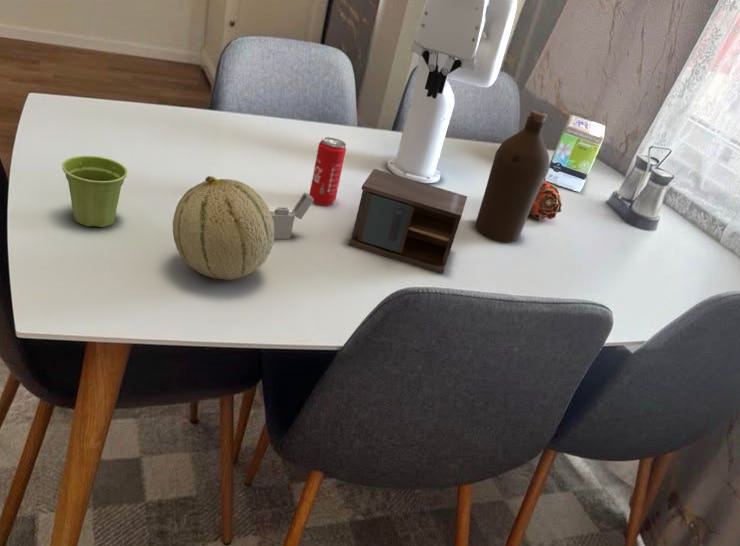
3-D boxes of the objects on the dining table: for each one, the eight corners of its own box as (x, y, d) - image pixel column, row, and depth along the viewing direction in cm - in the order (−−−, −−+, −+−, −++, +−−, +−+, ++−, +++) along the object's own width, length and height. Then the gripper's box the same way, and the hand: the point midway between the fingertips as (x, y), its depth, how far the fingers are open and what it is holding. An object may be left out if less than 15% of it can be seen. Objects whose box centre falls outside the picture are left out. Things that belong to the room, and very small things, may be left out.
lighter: (268, 238, 121) (275, 195, 117) (265, 234, 122) (272, 190, 118) (306, 238, 124) (314, 196, 120) (303, 234, 126) (311, 192, 121)
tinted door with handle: (358, 238, 126) (369, 191, 121) (402, 252, 126) (415, 205, 121) (353, 247, 123) (364, 199, 118) (398, 260, 122) (411, 213, 117)
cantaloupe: (274, 299, 106) (291, 207, 97) (173, 296, 100) (181, 198, 92) (257, 251, 117) (271, 164, 108) (165, 245, 111) (172, 154, 103)
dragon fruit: (547, 235, 156) (513, 217, 165) (576, 212, 157) (540, 196, 166) (538, 204, 150) (503, 188, 159) (568, 181, 152) (532, 166, 160)
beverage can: (331, 209, 137) (343, 149, 130) (305, 201, 137) (316, 141, 131) (337, 200, 141) (349, 142, 135) (312, 193, 142) (323, 134, 135)
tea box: (581, 193, 180) (604, 137, 172) (543, 181, 182) (565, 124, 173) (584, 177, 193) (606, 124, 184) (548, 165, 194) (569, 112, 186)
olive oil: (525, 248, 143) (572, 127, 129) (475, 237, 142) (517, 114, 128) (516, 226, 152) (559, 110, 138) (469, 216, 150) (507, 98, 137)
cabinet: (360, 225, 134) (374, 168, 128) (449, 252, 133) (467, 196, 127) (348, 245, 126) (362, 185, 120) (442, 274, 125) (461, 215, 119)
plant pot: (138, 221, 116) (140, 171, 111) (97, 239, 108) (98, 186, 103) (92, 201, 118) (92, 151, 113) (49, 217, 110) (47, 164, 106)
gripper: (512, -13, 111) (476, 102, 122) (421, -39, 112) (394, 78, 123) (510, -8, 105) (472, 114, 116) (414, -35, 106) (385, 88, 117)
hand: (432, 95), depth 119 cm, fingers closed
